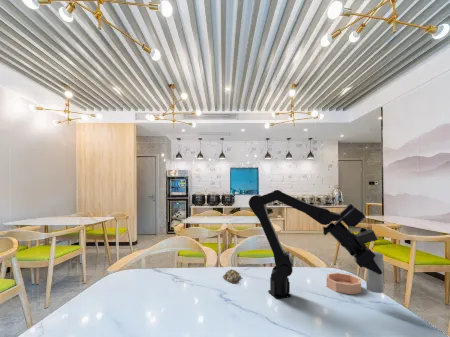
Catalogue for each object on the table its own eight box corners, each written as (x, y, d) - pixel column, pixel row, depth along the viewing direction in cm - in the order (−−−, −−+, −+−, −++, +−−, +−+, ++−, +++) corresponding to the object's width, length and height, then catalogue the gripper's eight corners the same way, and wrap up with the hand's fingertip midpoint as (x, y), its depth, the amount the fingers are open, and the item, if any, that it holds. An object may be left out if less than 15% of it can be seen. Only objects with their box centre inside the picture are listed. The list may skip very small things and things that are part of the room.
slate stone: (376, 293, 83) (375, 256, 84) (363, 287, 88) (362, 252, 89) (386, 291, 85) (386, 255, 86) (373, 286, 90) (373, 251, 91)
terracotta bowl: (343, 295, 95) (343, 286, 95) (320, 283, 107) (320, 274, 107) (368, 291, 99) (368, 282, 99) (343, 279, 111) (343, 271, 111)
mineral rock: (221, 269, 116) (238, 264, 117) (223, 278, 116) (240, 274, 117) (222, 279, 105) (240, 273, 106) (225, 289, 105) (243, 283, 106)
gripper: (367, 225, 80) (408, 264, 76) (355, 218, 98) (388, 249, 94) (341, 247, 82) (379, 287, 78) (334, 236, 100) (365, 268, 96)
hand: (378, 271), depth 87 cm, fingers closed on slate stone, 5 cm apart
